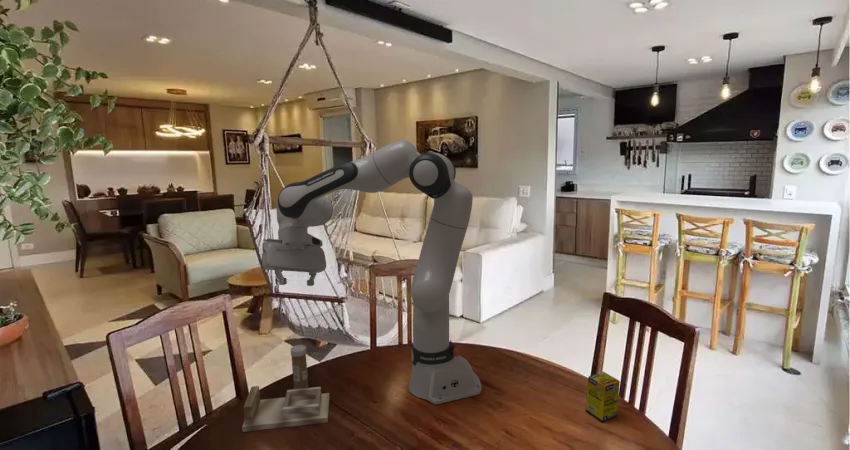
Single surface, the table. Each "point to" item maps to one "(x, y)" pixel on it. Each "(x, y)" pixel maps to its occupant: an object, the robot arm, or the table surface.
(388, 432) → the table surface
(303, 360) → the sprinkles bottle
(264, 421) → the caddy
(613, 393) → the supplement box
